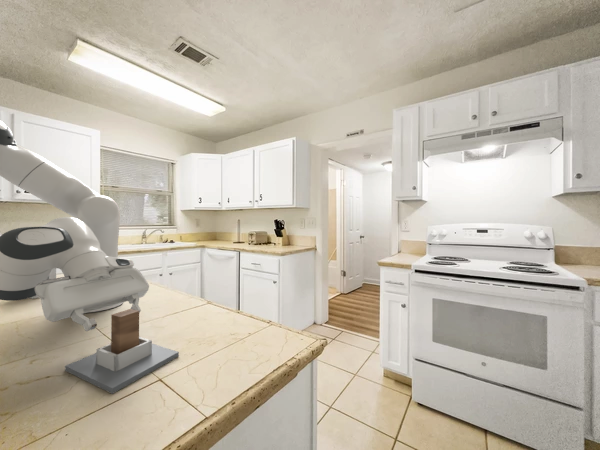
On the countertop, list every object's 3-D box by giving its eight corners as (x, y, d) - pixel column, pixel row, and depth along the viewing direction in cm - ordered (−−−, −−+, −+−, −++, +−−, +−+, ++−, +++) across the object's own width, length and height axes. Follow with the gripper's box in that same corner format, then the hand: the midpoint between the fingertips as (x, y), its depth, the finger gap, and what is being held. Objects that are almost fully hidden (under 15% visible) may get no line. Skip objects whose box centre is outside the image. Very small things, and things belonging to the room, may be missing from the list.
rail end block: (111, 361, 54) (111, 314, 54) (130, 352, 57) (130, 308, 57) (119, 364, 53) (120, 317, 52) (138, 355, 56) (139, 310, 56)
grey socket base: (65, 370, 52) (65, 351, 52) (133, 341, 65) (134, 325, 65) (112, 393, 45) (112, 371, 45) (178, 356, 58) (178, 338, 58)
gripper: (36, 272, 50) (63, 330, 47) (138, 258, 69) (162, 299, 65) (26, 292, 52) (50, 349, 49) (127, 273, 71) (151, 313, 67)
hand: (115, 320), depth 57 cm, fingers open, 8 cm apart
